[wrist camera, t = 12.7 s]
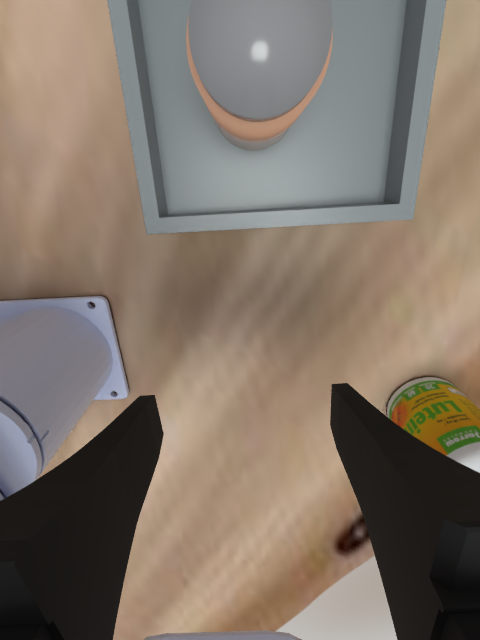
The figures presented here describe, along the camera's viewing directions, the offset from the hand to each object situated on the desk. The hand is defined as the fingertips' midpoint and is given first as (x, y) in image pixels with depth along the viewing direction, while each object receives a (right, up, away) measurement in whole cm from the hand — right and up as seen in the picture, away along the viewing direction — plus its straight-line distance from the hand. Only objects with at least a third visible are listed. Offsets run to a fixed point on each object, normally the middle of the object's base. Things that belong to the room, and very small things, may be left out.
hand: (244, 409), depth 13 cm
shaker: (+1, +15, +3) cm, 15 cm away
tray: (+2, +15, +4) cm, 16 cm away
